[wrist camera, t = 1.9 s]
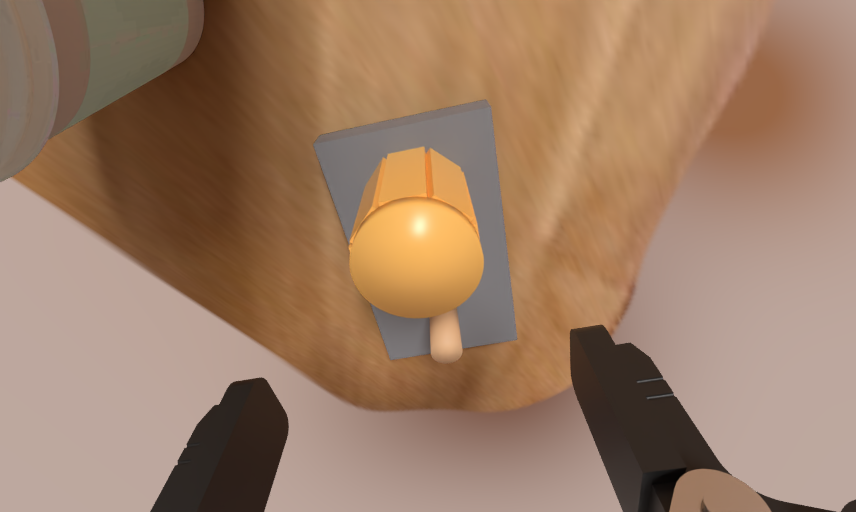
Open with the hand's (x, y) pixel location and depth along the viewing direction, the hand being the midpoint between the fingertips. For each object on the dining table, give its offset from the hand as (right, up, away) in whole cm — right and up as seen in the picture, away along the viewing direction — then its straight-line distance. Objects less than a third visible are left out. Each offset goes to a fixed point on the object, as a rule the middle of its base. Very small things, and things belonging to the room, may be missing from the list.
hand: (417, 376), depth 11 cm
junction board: (0, +4, +12) cm, 13 cm away
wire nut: (0, +6, +9) cm, 11 cm away
